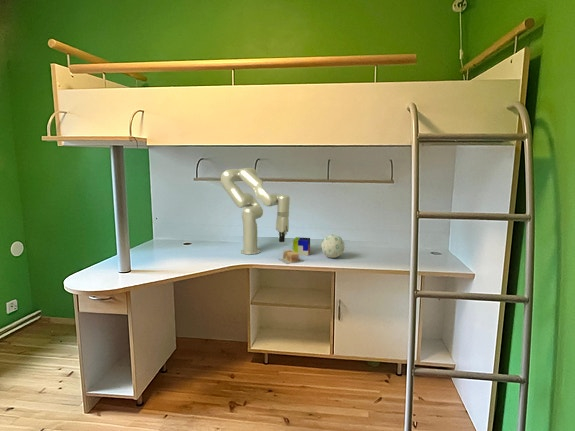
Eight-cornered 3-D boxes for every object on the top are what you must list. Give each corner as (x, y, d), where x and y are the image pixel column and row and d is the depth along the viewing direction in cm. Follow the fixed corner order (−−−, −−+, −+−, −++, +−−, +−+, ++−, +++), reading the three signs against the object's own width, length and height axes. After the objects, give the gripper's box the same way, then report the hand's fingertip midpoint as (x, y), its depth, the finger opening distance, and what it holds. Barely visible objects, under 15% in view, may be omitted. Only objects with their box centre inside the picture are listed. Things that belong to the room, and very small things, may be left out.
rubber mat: (278, 259, 252) (278, 259, 252) (295, 257, 258) (295, 256, 258) (286, 263, 242) (286, 263, 242) (303, 261, 248) (303, 261, 248)
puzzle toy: (307, 255, 262) (307, 241, 261) (293, 254, 264) (293, 240, 262) (309, 252, 272) (310, 237, 270) (295, 251, 274) (295, 237, 272)
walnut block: (283, 250, 253) (291, 254, 244) (290, 249, 256) (298, 253, 246) (283, 258, 254) (291, 262, 245) (289, 257, 256) (298, 261, 247)
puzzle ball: (338, 253, 268) (339, 232, 265) (348, 259, 253) (348, 236, 251) (317, 255, 263) (318, 233, 261) (326, 261, 249) (326, 238, 247)
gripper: (272, 212, 260) (271, 239, 263) (283, 216, 247) (281, 245, 250) (282, 212, 263) (281, 238, 266) (293, 216, 250) (292, 244, 254)
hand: (281, 241), depth 258 cm, fingers closed
